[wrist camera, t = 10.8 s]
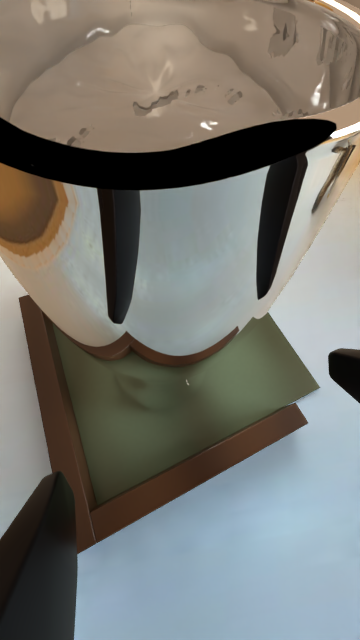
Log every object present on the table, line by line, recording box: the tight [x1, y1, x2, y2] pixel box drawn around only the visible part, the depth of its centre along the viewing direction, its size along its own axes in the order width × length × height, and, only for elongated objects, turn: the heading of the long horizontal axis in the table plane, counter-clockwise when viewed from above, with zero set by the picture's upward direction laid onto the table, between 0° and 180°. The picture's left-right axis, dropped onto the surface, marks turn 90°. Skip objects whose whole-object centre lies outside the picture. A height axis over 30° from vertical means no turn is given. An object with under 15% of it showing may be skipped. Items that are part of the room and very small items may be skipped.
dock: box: [19, 295, 320, 554], centre depth 16 cm, size 16×14×2 cm
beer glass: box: [0, 0, 360, 410], centre depth 10 cm, size 7×7×15 cm
